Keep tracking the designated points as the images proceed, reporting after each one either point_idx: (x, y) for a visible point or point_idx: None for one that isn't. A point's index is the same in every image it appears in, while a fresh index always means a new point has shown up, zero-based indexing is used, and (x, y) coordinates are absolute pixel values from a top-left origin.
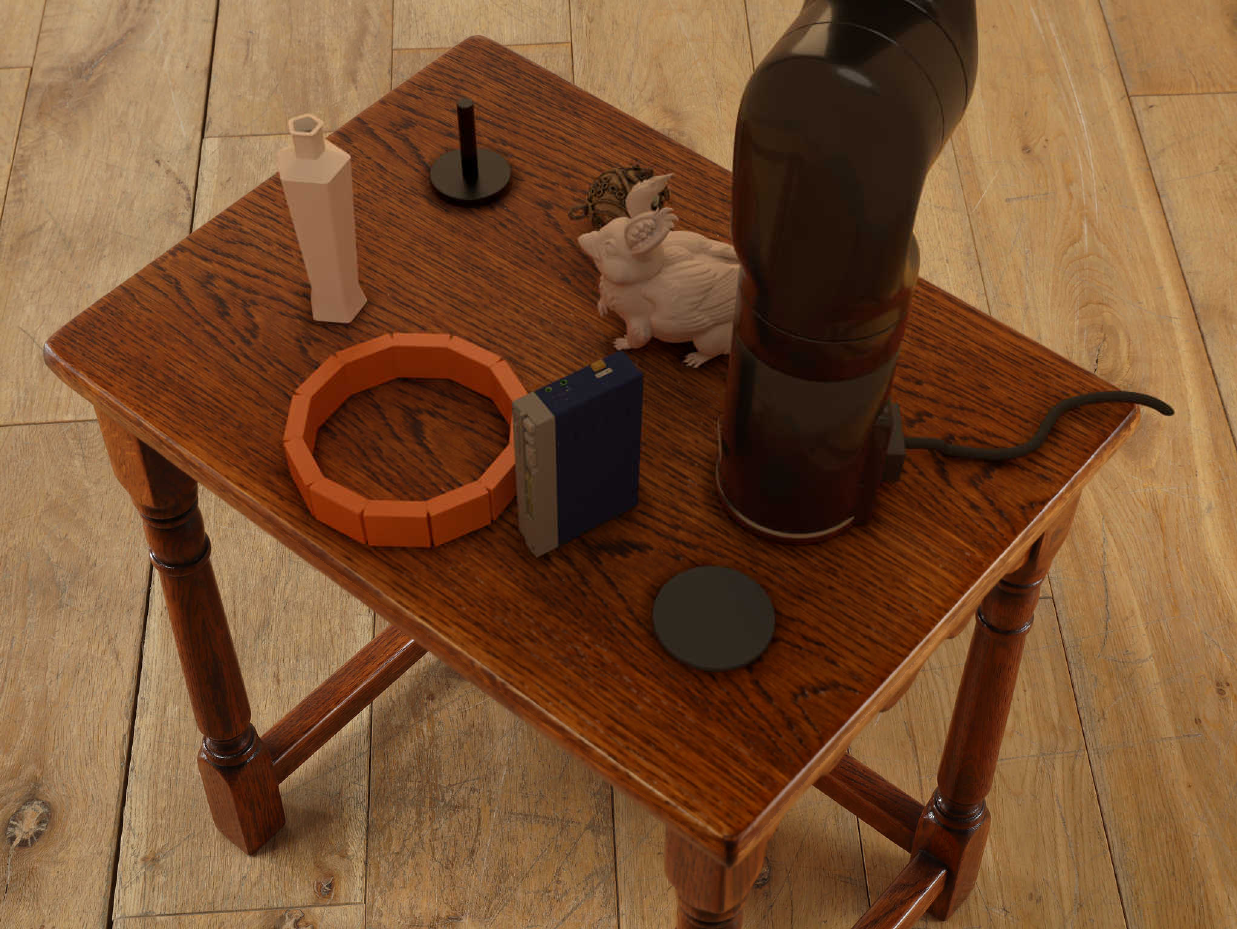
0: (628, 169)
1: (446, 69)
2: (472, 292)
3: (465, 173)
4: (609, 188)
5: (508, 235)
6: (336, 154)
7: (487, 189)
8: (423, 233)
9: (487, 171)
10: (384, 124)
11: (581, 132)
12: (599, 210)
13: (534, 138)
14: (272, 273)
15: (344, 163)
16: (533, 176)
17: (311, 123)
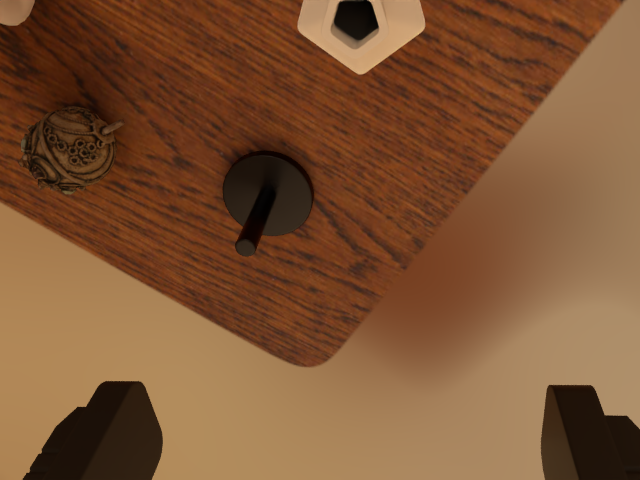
0: (57, 179)
1: (336, 345)
2: (218, 9)
3: (269, 192)
4: (65, 145)
5: (206, 111)
6: (315, 18)
7: (241, 173)
8: (300, 104)
9: (249, 200)
10: (382, 267)
11: (179, 269)
12: (81, 123)
13: (222, 258)
14: (470, 10)
15: (302, 7)
16: (207, 204)
17: (350, 43)
